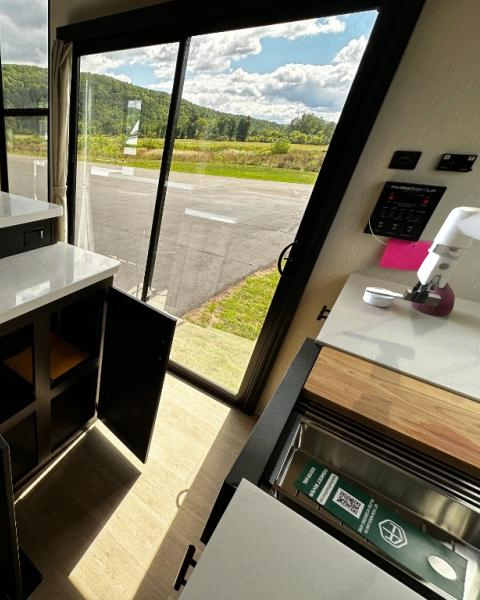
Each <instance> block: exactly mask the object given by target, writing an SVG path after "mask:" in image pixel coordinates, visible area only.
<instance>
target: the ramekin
mask: <svg viewBox="0 0 480 600" xmlns="http://www.w3.org/2000/svg"><path fill="white" fill-rule="evenodd" d="M368 288H373V289H378V290H383V291H388V292H392V291H391V290H389V289H387V288H383V287H377V286H369V287H368ZM395 299H396V298H393V297H388V296H383V295H378V294H374V293H369V292H366V291H365V292H364V295H363V301H364V302H365V303H367V304H369V305H370V306H373V307H379V308H385V307H386V308H387V307H389V306H390V305H391V304H392V302H393V301H394V300H395Z"/></svg>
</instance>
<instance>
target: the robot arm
mask: <svg viewBox="0 0 480 600" xmlns="http://www.w3.org/2000/svg"><path fill="white" fill-rule="evenodd" d="M475 240H478V241H480V207H473V206H457V207H455V208H453V209H452V210H451V212H450V213H449V214H448V216H447V218H446V219H445V221H444V223H443V224H442V226H441V228H440V229H439V231H438V233H437V235H436V237H435V238H434V239H433V241H432V242H431V244H430V247H429V248H428V250H427V252H428V254H427V256H426V257H425V259H424V260H423V262H422V264H420V267H419V269H418V270H417V277H418V279H417V280H416V281H415V283H414V285H413V287H412V289H411V290H415V291H416V292H415V293H414V295H413V296H412V298H411V300H410V301H409V302H410V303H412V302H414V303H419V304H423V303H424V302H425V300H426V299H427V297H428V296H429V294H430V293H431V292H433V291H434V290H435V287H436V285H438V287H439V288H443V287H444V286H445V284H446V283H447V282H448V281H449V279H450V277H451V276H452V274H453V272H454V271H455V269H456V267H457V265H458V262H459V260H460V259H462V258H464V255H466V253H467V251H468V250H469V248H470V246H471V245H472V244H473V242H474V241H475Z"/></svg>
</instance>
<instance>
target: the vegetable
mask: <svg viewBox="0 0 480 600" xmlns="http://www.w3.org/2000/svg"><path fill="white" fill-rule="evenodd" d="M431 294H436V295H439V296H440V298H441V300H440V302H439V303H438V305H437V306H436V307H435V306H430V305H426V304H419V303H414V302H411V305H412V306H411V307H412V308H414V309H415V310H417V311H420V312H422V313H425V314H427V315H432V316H436V317H447V316H449V315H450V314H451V313H452V311H453V309H454V306H455V300H456V299H455V298H456V297H455V293H454V290H453V289H452V287H451V286H450V284H449V282H448V281H447V283H446V284H445V286H444V287H443V288H439V287H438V285H436V287H435V290H434V291H433V292H431Z"/></svg>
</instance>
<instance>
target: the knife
mask: <svg viewBox="0 0 480 600" xmlns="http://www.w3.org/2000/svg"><path fill="white" fill-rule="evenodd" d="M365 292H369V293H374V294H378V295H383V296H388V297H393V298H395V299H398V300H403V301H407V302H411V301H410V300H411V298H412V296H413V295H414V293H415V292H416V291H415V290H412V289H410V288H406V290H405V291H404V293H403V294H402V293H397V292H393V291H391V292H388V291H383V290H378V289H373V288H368V287H366V288H365ZM440 300H441V298H440V296H439V295H436V294H431V293H430V294H429V296H428V297H427V299H426V300H425V302H424V303H423V304H426V305H430V306H435V307H436V306H437V305H438V303H439V302H440Z"/></svg>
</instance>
